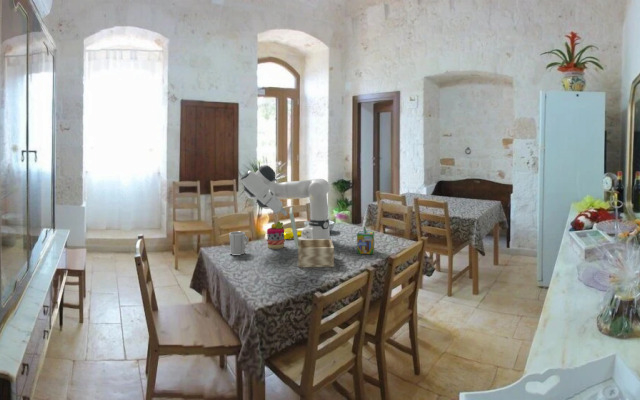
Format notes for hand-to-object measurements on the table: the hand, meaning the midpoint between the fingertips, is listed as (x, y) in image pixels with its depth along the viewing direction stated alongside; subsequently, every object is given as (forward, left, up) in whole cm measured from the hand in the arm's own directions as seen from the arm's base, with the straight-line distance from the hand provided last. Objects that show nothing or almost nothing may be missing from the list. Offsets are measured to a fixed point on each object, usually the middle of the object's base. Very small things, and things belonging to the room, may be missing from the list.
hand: (286, 214), depth 242 cm
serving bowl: (-47, +65, -26) cm, 84 cm away
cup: (-34, -9, -26) cm, 43 cm away
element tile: (-49, +40, -26) cm, 69 cm away
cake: (-32, +16, -26) cm, 44 cm away
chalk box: (+14, +45, -26) cm, 54 cm away
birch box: (+9, +11, -25) cm, 29 cm away
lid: (+3, +3, -6) cm, 8 cm away
